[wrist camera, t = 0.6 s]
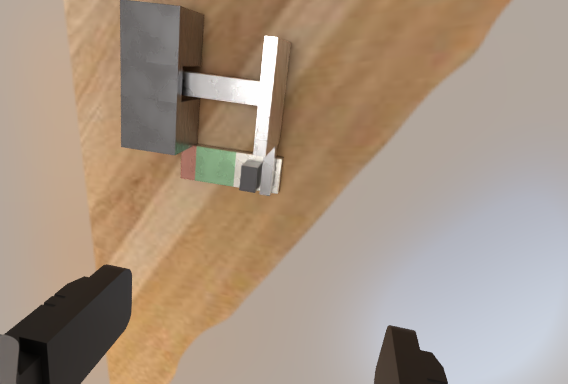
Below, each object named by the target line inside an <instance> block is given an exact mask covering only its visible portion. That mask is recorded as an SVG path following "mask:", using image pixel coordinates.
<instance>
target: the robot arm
mask: <svg viewBox="0 0 568 384" xmlns="http://www.w3.org/2000/svg"><path fill="white" fill-rule="evenodd" d="M131 306H132V273H131V271H130V269H126V268H121V267H117V266H112V265H107V264H106V265H103V266H102V267H101V268H100V269H98V270H97V271H96V272H95V273H94V274H93V275H91V276H90V277H82V278H80V279H78V280H75V281H73V282H71V283H68V284H67V285H65V286H64V287H63V288H62V289H60V290H59V291H58V292H57V293H55V295H54V296H52V297H50V298H49V299H48V300H47V301H45V302H44V305H40V306H39V307H38V308H37V309H35V310H34V311H33V312H32V313H31V314H29V315H28V316H27V317H25V318H24V319H23V320H22V321H21V322H19V323H18V324H17V325H15V326H14V327H13V328H12V329H10V330H9V331H8V332H7V333H5V334H4V335H1V334H0V384H81V382H82V381H83V380H84V379H85V377H86V376H87V375H88V374H89V373H90V371H91V370H92V369H93V368H94V367H95V365H96V364H97V363H98V362H99V361H100V359H101V358H102V357H103V356H104V355H105V353H106V352H107V351H108V350H109V349H110V347H111V346H112V345H113V344H114V343H115V341H116V340H117V339H118V338H119V336H120V335H121V334H122V333H123V332H124V330H125V329H126V327H127V325H128V323H129V320H130V316H131ZM374 384H448V382H447V378H446V375H445V372H444V368H443V367H442V365H441V364H440V363H439V361H438V360H437V359H436V358H435V356H434V355H433V353H431V352H427V351H422V350H420V347H419V343H418V339H417V335H416V332H415V331H414V330H409V329H405V328H400V327H395V326H391V325H389V326H388V327H387V330H386V333H385V337H384V340H383V345H382V348H381V352H380V355H379V359H378V362H377V366H376V371H375V379H374Z"/></svg>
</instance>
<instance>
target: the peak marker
mask: <svg viewBox="0 0 568 384" xmlns="http://www.w3.org/2000/svg"><path fill="white" fill-rule="evenodd" d="M262 163H263V162H258V161H251V160H247V161H246V162H245V163H244V164H242V165H241V176H240V187H239V190H241V191H247V192H253V193H255V192H256V191H257V189H258V188H259V187H260V182H261V173H262Z"/></svg>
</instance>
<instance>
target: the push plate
mask: <svg viewBox="0 0 568 384" xmlns="http://www.w3.org/2000/svg"><path fill="white" fill-rule="evenodd" d="M290 49H291V43H290V42H288V41H286V40H283V39H281V38H279V37H272V36H265V37H264V47H263V58H262V68H261V79H260V80H253V79H245V78H237V77H230V76H222V75H215V74H207V73H199V72H192V71H184V70H183V74H182V95H184V96H192V97H199V98H206V99H213V100H220V101H228V102H235V103H242V104H249V105H257V106H258V110H257V120H256V130H255V141H254V151H253V155H255V156H261V157H263V166H262V176H261V185H260V194H261V195H267V196H270V195H271V193H272V189H273V180H274V172H275V163H276V154H277V146H278V143H279V142H280V134H281V126H282V117H283V109H284V100H285V91H286V83H287V74H288V66H289V57H290Z"/></svg>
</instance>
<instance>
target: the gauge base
mask: <svg viewBox="0 0 568 384" xmlns="http://www.w3.org/2000/svg"><path fill="white" fill-rule="evenodd" d="M203 26H204V15H203V14H200V13H198V12H195V11H192V10H189V9H187V8H184V7H181V6H174V5H166V4H157V3H148V2H139V1H130V0H120V38H121V147H125V148H131V149H138V150H144V151H151V152H157V153H163V154H170V155H176V154H178V153H180V152H182V157H181V178H183V179H190V180H196V181H202V182H208V183H214V184H220V185H226V186H233V187H240V176H241V165H242V164H244V163H245V162H246V161H247V160H251V161H258V162H263V157H261V156H255V155H253V152H246V151H240V150H233V149H227V148H220V147H214V146H207V145H200V144H197V141H198V122H199V102H200V98H193V97H185V96H182V74H183V66H201V64H202V45H203ZM282 164H283V157H279V156H276V163H275V172H274V180H273V189H272V193H276V194H278V192H279V189H280V181H281V173H282ZM262 166H263V163H262ZM261 176H262V173H261ZM260 185H261V182H260ZM257 191H260V187H259V188H258V189H257Z"/></svg>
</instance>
